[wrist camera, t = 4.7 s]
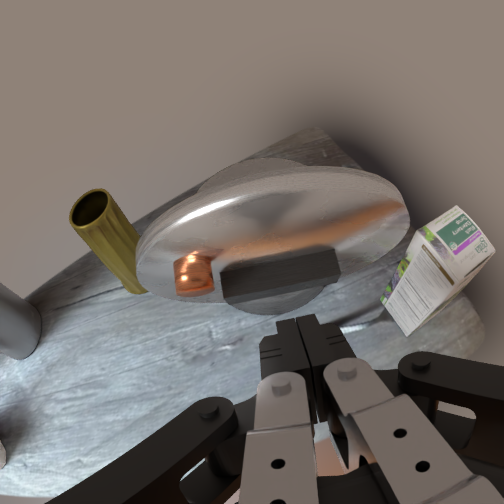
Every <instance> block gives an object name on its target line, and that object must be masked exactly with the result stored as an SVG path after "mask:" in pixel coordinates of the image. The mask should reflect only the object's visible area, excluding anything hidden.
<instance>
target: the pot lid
mask: <svg viewBox="0 0 504 504" xmlns="http://www.w3.org/2000/svg"><path fill="white" fill-rule="evenodd" d="M409 226H410V217H409V213H408V211H407V208H406V206H405V203H404V201H403V198H402V196H401V194H400V192H399V191H398V189H397V188H396V187H395V186H394V185H393V184H392V183H390V182H389V181H388V180H386V179H384V178H382V177H380V176H378V175H376V174H372V173H369V172H366V171H363V170H359V169H352V168H346V167H334V166H307V167H292V168H285V169H279V170H272V171H266V172H261V173H257V174H253V175H249V176H245V177H241V178H237V179H234V180H231V181H228V182H225V183H222V184H219V185H216V186H213V187H211V188H209V189H206V190H204V191H202V192H200V193H197V194H195V195H193V196H191V197H189V198H187V199H185V200H183V201H182V202H180V203H178V204H176V205H175V206H173V207H171V208H170V209H168V210H167V211H166V212H164V213H163V214H162V215H160V216H159V217H158V218H156V219H155V220H154V221H153V222H152V223H151V224H150V225H149V226H148V227H147V228H146V230H145V231H144V233H143V234H142V235H141V237H140V238H139V241H138V243H137V246H136V255H135V257H136V275H137V279H138V281H139V283H140V284H141V285H142V287H143V288H145V289H146V290H147V291H149V292H151V293H153V294H155V295H157V296H160V297H163V298H167V299H171V300H176V301H183V302H193V303H228V304H229V305H231V304H237V303H242V302H247V301H252V300H257V299H264V298H270V297H275V296H280V295H285V294H289V293H293V292H297V291H301V290H305V289H310V288H314V287H319V286H323V285H328V284H332V283H337V281H338V279H339V278H341V277H343V276H346V275H348V274H351V273H353V272H355V271H357V270H359V269H361V268H363V267H365V266H367V265H369V264H371V263H373V262H374V261H376V260H377V259H379V258H381V257H382V256H384V255H385V254H386V253H388V252H389V251H390V250H392V249H393V248H394V247H395V246H396V245H397V244H398V243H399V242H400V241H401V240H402V239H403V237H404V236H405V234H406V233H407V231H408V228H409Z"/></svg>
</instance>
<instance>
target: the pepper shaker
mask: <svg viewBox="0 0 504 504" xmlns="http://www.w3.org/2000/svg"><path fill="white" fill-rule="evenodd" d="M5 464H6V450H5V448H4V446H3V444H2V442H1V440H0V470H1V469H2V468H3V466H4V465H5Z"/></svg>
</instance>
